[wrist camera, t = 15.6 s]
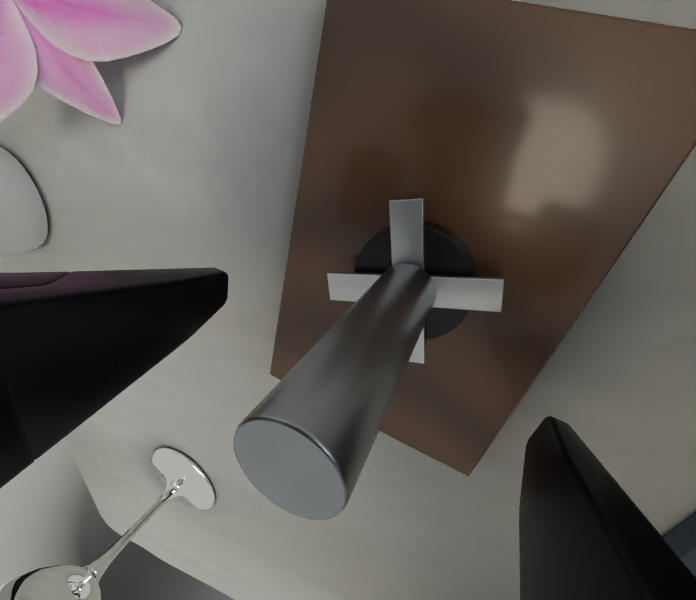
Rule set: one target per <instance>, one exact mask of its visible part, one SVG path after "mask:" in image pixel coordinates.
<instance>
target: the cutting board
mask: <svg viewBox="0 0 696 600" xmlns="http://www.w3.org/2000/svg"><path fill="white" fill-rule="evenodd" d="M695 145H696V29H689V28H683V27H677V26H670V25H664V24H658V23H651V22H645V21H639V20H632V19H626V18H620V17H613V16H607V15H600V14H594V13H588V12H581V11H575V10H569V9H562V8H556V7H550V6H543V5H537V4H531V3H524V2H518V1H512V0H327V4H326V11H325V17H324V24H323V30H322V37H321V44H320V50H319V57H318V63H317V70H316V76H315V83H314V89H313V96H312V103H311V109H310V116H309V122H308V129H307V135H306V142H305V148H304V155H303V162H302V168H301V175H300V181H299V188H298V194H297V201H296V207H295V214H294V220H293V227H292V234H291V240H290V247H289V253H288V260H287V266H286V273H285V279H284V286H283V293H282V299H281V306H280V312H279V319H278V325H277V332H276V338H275V345H274V352H273V358H272V365H271V371H270V374H271V375H272V376H274V377H276V378H278V379H280V380H282V379H283V378H284V377H285V376H286V375H287V374H288V373H289V372H290V371H291V369H292V368H293V367H294V366H295V365H296V364H297V363H298V362H299V361H300V360H301V359H302V358H303V357H304V356H305V355H306V354H307V353H308V352H309V351H310V350H311V349H312V347H313V346H314V345H315V344H316V343H317V342H318V341H319V340H320V339H321V338H322V337H323V336H324V335H325V334H326V333H327V332H328V331H329V330H330V329H331V328H332V327H333V325H334V324H335V323H336V322H337V321H338V320H339V319H340V318H341V317H342V316H343V315H344V314H345V313H346V312H347V311H348V310H349V309H350V308H351V307H352V306H353V304H354V303H355V302H353V301H339V300H330V294H329V286H328V277H327V273H328V272H354V267H355V263H356V260H357V257H358V255H359V253H360V251H361V250H362V248H363V247H364V246H365V244H366V243H367V242H368V241H369V240H370V239H371V238H372V237H374V236H375V235H376V234H378V233H379V232H381V231H382V230H384V229H385V228H387V227H389V226H390V209H389V201H390V200H398V199H416V198H424V221H429V222H433V223H436V224H439V225H441V226H443V227H445V228H447V229H449V230H450V231H452V232H453V233H454V234H456V235H457V236H458V237H459V238H460V239H461V240H462V241H463V242H464V243H465V245H466V246H467V248H468V249H469V251H470V253H471V255H472V257H473V260H474V263H475V266H476V272H477V277H502V278H504V287H503V299H502V311H501V312H492V311H478V310H470V311H469V312H468V314H467V316H466V317H465V318H464V320H463V321H462V322H461V323H460V324H459V325H458V326H457V327H455V328H454V329H453V330H451V331H450V332H448V333H446V334H444V335H442V336H439V337H436V338H433V339H427V340H425V363H424V364H422V363H415V362H408V364H407V367H406V369H405V371H404V373H403V376H402V378H401V380H400V383H399V385H398V387H397V390H396V392H395V394H394V397H393V399H392V401H391V403H390V406H389V408H388V410H387V413H386V415H385V417H384V420H383V422H382V424H381V427H380V429H379V431H381V432H383V433H385V434H387V435H389V436H391V437H393V438H395V439H397V440H399V441H401V442H403V443H405V444H406V445H408V446H410V447H412V448H414V449H416V450H418V451H420V452H422V453H424V454H426V455H428V456H430V457H432V458H434V459H436V460H438V461H440V462H441V463H443V464H445V465H447V466H449V467H451V468H453V469H455V470H457V471H459V472H461V473H463V474H465V475H467V476H469V475H470V473H471V472H472V471H473V469H474V468H475V466H476V465H477V463H478V462H479V460H480V459H481V457H482V456H483V455H484V453H485V452H486V450H487V449H488V447H489V446H490V444H491V443H492V441H493V440H494V438H495V437H496V436H497V434H498V433H499V431H500V430H501V428H502V427H503V425H504V424H505V422H506V421H507V419H508V418H509V417H510V415H511V414H512V412H513V411H514V409H515V408H516V406H517V405H518V403H519V402H520V401H521V399H522V398H523V396H524V395H525V393H526V392H527V390H528V389H529V387H530V386H531V384H532V383H533V382H534V380H535V379H536V377H537V376H538V374H539V373H540V371H541V370H542V368H543V367H544V365H545V364H546V363H547V361H548V360H549V358H550V357H551V355H552V354H553V352H554V351H555V349H556V348H557V346H558V345H559V344H560V342H561V341H562V339H563V338H564V336H565V335H566V333H567V332H568V330H569V329H570V328H571V326H572V325H573V323H574V322H575V320H576V319H577V317H578V316H579V314H580V313H581V311H582V310H583V309H584V307H585V306H586V304H587V303H588V301H589V300H590V298H591V297H592V295H593V294H594V292H595V291H596V290H597V288H598V287H599V285H600V284H601V282H602V281H603V279H604V278H605V276H606V275H607V274H608V272H609V271H610V269H611V268H612V266H613V265H614V263H615V262H616V260H617V259H618V257H619V256H620V255H621V253H622V252H623V250H624V249H625V247H626V246H627V244H628V243H629V241H630V240H631V238H632V237H633V236H634V234H635V233H636V231H637V230H638V228H639V227H640V225H641V224H642V222H643V221H644V220H645V218H646V217H647V215H648V214H649V212H650V211H651V209H652V208H653V206H654V205H655V203H656V202H657V201H658V199H659V198H660V196H661V195H662V193H663V192H664V190H665V189H666V187H667V186H668V184H669V183H670V182H671V180H672V179H673V177H674V176H675V174H676V173H677V171H678V170H679V168H680V167H681V166H682V164H683V163H684V161H685V160H686V158H687V157H688V155H689V154H690V152H691V151H692V149H693V148H694V147H695Z"/></svg>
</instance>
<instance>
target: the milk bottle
mask: <svg viewBox="0 0 696 600" xmlns="http://www.w3.org/2000/svg"><path fill="white" fill-rule="evenodd" d="M47 233H48V223H47V216H46V212H45V208H44V205H43V202H42V199H41V197H40V195H39V192H38V190H37V188H36V186H35V184H34V183H33V181H32V179H31V177H30V176H29V174H28V173H27V172H26V170H25V169H24V167H23V166H22V165H21V164H20V163H19V162H18V160H17V159H16V158H15V157H13V156H12V155H11V154H10V153H9V152H7V151H6V150H4V149H3V148H1V147H0V257H4V256H9V255H14V254H18V253H22V252H26V251H31V250H34V249H36V248H38V247H39V246H41V245H42V244H43V243H44V241H45V240H46V237H47Z"/></svg>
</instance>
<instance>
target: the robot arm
mask: <svg viewBox="0 0 696 600" xmlns="http://www.w3.org/2000/svg"><path fill="white" fill-rule="evenodd" d="M227 294H228V275H227V273H226V272H224V271H222V270H219V269H217V268H183V269H148V270H112V271H76V272H71V273H70V272H31V273H0V488H1V487H2V486H4V485H5V484H6V483H8V482H9V481H10V480H11V479H13V478H14V477H15V476H16V475H18V474H19V473H20V472H21V471H23V470H24V469H25V468H26V467H28V466H29V465H30V464H31V463H33V462H34V460H35V459H37V458H39V457H40V456H41V455H42V454H44V453H45V452H46V451H48V450H49V449H50V448H51V447H53V446H54V445H55V444H56V443H57V442H59V441H60V440H61V439H63V438H64V437H65V436H67V435H68V434H69V433H70V432H72V431H73V430H74V429H75V428H77V427H78V426H79V425H80V424H82V423H83V422H84V421H85V420H87V419H88V418H89V417H91V416H92V415H93V414H94V413H96V412H97V411H98V410H99V409H101V408H102V407H103V406H104V405H106V404H107V403H108V402H109V401H111V400H112V399H113V398H115V397H116V396H117V395H118V394H120V393H121V392H122V391H123V390H125V389H126V388H127V387H128V386H130V385H131V384H132V383H133V382H135V381H136V380H137V379H139V378H140V377H141V376H142V375H144V374H145V373H146V372H147V371H149V370H150V369H151V368H152V367H154V366H155V365H156V364H157V363H159V362H160V361H161V360H163V359H164V358H165V357H166V356H168V355H169V354H170V353H171V352H173V351H174V350H175V349H176V348H178V347H179V346H180V345H181V344H183V343H184V342H185V341H186V340H188V339H189V338H190V337H191V336H192V335H193V334H194V333H195V332H196V331H197V330H198V329H199V328H200V327H201V326H202V325H204V324H205V323H206V322H207V321H208V320H209V319H210V318H211V317H212V316H213V315H214V314H215V313H216V312H217V311H218V310H219V309H220V308H221V307H222V306H223V305H224V304H225V302H226V300H227ZM519 542H520V600H696V577H695V576H694V575H693V574H692V572H691V571H690V570H689V569H688V567H687V566H686V565H685V564H684V563H683V561H682V560H681V559H680V558H679V557H678V555H677V554H676V553H675V552H674V551H673V549H672V548H671V547H670V546H669V545H668V543H667V542H666V541H665V540H664V539H663V537H662V536H661V535H660V534H659V533H658V531H657V530H656V529H655V528H654V527H653V525H652V524H651V523H650V522H649V521H648V519H647V518H646V517H645V516H644V514H643V513H642V512H641V511H640V510H639V508H638V507H637V506H636V505H635V504H634V502H633V501H632V500H631V499H630V498H629V496H628V495H627V494H626V493H625V492H624V490H623V489H622V488H621V487H620V486H619V484H618V483H617V482H616V481H615V480H614V478H613V477H612V476H611V475H610V474H609V472H608V471H607V470H606V469H605V468H604V466H603V465H602V464H601V463H600V461H599V460H598V459H597V458H596V457H595V455H594V454H593V453H592V452H591V451H590V449H589V448H588V447H587V446H586V445H585V443H584V442H583V441H582V440H581V439H580V437H579V436H578V435H577V434H576V433H575V431H574V430H573V429H572V428H571V427H570V425H569V424H567V423H565V422H563V421H561V420H558V419H556V418H554V417H551V416H549V417H546V418H545V419H544V420H543V421H542V422H541V424H540V425H539V426H538V428H537V429H536V430H535V432H534V433H533V434H532V435H531V437H530V438H529V440H528V442H527V445H526V451H525V460H524V469H523V478H522V487H521V496H520V508H519Z"/></svg>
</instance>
